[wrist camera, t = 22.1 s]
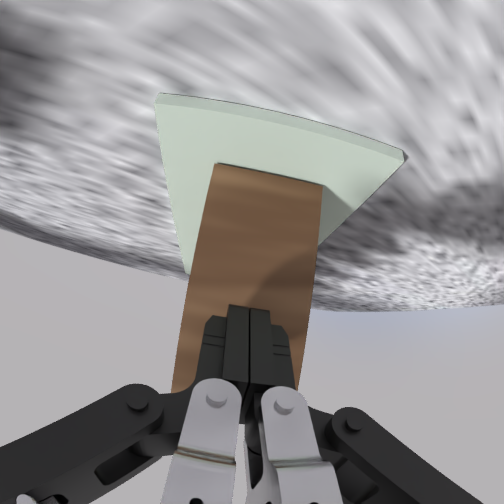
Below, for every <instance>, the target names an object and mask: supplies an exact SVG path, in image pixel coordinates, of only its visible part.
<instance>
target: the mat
mask: <svg viewBox="0 0 504 504" xmlns="http://www.w3.org/2000/svg"><path fill="white" fill-rule="evenodd" d="M154 108H155V115H156V122H157V129H158V136H159V142H160V148H161V154H162V160H163V166H164V172H165V177H166V183H167V188H168V194H169V199H170V204H171V209H172V214H173V219H174V224H175V229H176V233H177V238H178V243H179V247H180V252H181V256H182V260H183V265H184V269H185V273H186V274H188V275H190V273H191V267H192V262H193V257H194V252H195V247H196V242H197V238H198V233H199V228H200V223H201V219H202V214H203V210H204V205H205V201H206V196H207V192H208V188H209V184H210V179H211V175H212V171H213V167H214V163H215V164H221V165H226V166H232V167H237V168H242V169H247V170H252V171H257V172H262V173H267V174H271V175H276V176H281V177H285V178H290V179H294V180H298V181H303V182H307V183H311V184H315V185H319V186H323V191H322V204H321V216H320V227H319V238H318V246H319V245H320V244H321V243H322V242H323V241H324V240H325V239H326V238H327V237H328V236H329V235H330V234H331V233H332V232H334V231H335V230H336V229H337V228H338V227H339V226H340V225H341V224H342V223H343V222H344V221H345V220H346V219H347V218H348V217H349V216H350V215H351V214H352V213H353V212H354V211H355V210H356V209H357V208H358V207H359V206H360V205H361V204H362V203H364V202H365V201H366V200H367V199H368V198H369V197H370V196H371V195H372V194H373V193H374V192H375V191H376V190H377V189H378V188H379V187H380V186H381V185H382V184H383V183H384V182H385V181H386V180H387V179H388V178H389V177H390V176H391V175H392V174H393V173H394V172H395V171H396V170H397V169H398V168H399V167H400V165H401V164H402V163H403V162H404V157H403V151H402V150H400V149H397V148H395V147H392V146H389V145H387V144H384V143H381V142H378V141H376V140H373V139H370V138H367V137H364V136H361V135H358V134H355V133H352V132H349V131H346V130H342V129H339V128H336V127H332V126H329V125H326V124H322V123H318V122H315V121H311V120H307V119H304V118H300V117H296V116H292V115H288V114H283V113H279V112H275V111H270V110H266V109H261V108H256V107H251V106H246V105H241V104H235V103H230V102H224V101H218V100H211V99H205V98H197V97H190V96H182V95H173V94H163V93H159V94H158V96H157V98H156V100H155V102H154Z"/></svg>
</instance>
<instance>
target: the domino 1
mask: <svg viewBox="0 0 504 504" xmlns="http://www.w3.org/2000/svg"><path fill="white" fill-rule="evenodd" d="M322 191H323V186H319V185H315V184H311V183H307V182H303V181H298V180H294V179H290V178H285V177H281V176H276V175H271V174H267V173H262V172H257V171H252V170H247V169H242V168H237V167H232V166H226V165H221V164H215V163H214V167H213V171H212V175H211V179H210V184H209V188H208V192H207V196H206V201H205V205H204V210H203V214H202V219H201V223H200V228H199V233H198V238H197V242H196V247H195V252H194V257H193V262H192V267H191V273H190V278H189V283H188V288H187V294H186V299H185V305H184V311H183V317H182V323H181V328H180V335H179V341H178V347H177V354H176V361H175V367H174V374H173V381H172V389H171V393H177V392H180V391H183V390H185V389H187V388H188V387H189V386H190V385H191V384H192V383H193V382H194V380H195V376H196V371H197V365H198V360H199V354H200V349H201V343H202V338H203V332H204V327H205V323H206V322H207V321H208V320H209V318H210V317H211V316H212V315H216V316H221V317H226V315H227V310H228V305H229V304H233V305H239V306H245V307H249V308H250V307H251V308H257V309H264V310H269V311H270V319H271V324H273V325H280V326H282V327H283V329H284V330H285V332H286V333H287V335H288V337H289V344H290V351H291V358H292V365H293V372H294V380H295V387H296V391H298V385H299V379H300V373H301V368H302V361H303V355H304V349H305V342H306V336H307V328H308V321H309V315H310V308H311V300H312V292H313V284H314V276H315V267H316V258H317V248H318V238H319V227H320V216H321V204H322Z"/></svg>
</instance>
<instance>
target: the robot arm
mask: <svg viewBox="0 0 504 504" xmlns="http://www.w3.org/2000/svg"><path fill="white" fill-rule="evenodd" d="M239 424H245V440H244V455H245V468H246V480H247V497H246V504H483V503H482V502H481V501H479V500H478V499H476V498H475V497H473V496H472V495H471V494H469V493H468V492H466V491H465V490H464V489H462V488H461V487H460V486H458V485H457V484H455V483H454V482H453V481H451V480H450V479H449V478H447V477H445V476H444V475H443V474H442V473H441V472H439V471H438V470H436V469H435V468H434V467H433V466H431V465H430V464H429V463H427V462H426V461H425V460H423V459H422V458H421V457H420V456H418V455H417V454H416V453H414V452H413V451H412V450H411V449H409V448H408V447H407V446H405V445H404V444H403V443H402V442H400V441H399V440H398V439H397V438H395V437H394V436H393V435H392V434H390V433H389V432H388V431H387V430H385V429H384V428H383V427H382V426H380V425H379V424H378V423H377V422H376V421H375V420H373V419H372V418H371V417H369V416H368V415H367V414H366V413H365V412H363V411H362V410H360V409H357V408H353V407H345V408H341V409H339V410H338V411H337V412H335V414H334V415H332V414H329V413H325V412H322V411H319V410H316V409H313V408H311V407H309V406H308V405H307V402H306V400H305V398H304V397H303V396H302V395H301V394H300V393H299V392H298V391H296V387H295V380H294V372H293V365H292V358H291V351H290V344H289V337H288V335H287V333H286V332H285V330H284V329H283V327H282V326H280V325H273V324H271V319H270V311H269V310H264V309H257V308H251V307H250V308H249V307H245V306H239V305H233V304H229V305H228V310H227V315H226V317H221V316H216V315H212V316H211V317H210V318H209V320H208V321H207V322H206V323H205V327H204V332H203V338H202V343H201V349H200V354H199V360H198V365H197V371H196V376H195V380H194V382H193V383H192V384H191V385H190V386H189V387H188V388H187V389H185V390H183V391H180V392H177V393H168V394H159V393H158V392H157V391H155V390H154V389H153V388H151V387H149V386H147V385H143V384H129V385H126V386H124V387H122V388H120V389H118V390H116V391H114V392H112V393H111V394H109V395H107V396H105V397H103V398H101V399H99V400H97V401H95V402H93V403H92V404H90V405H88V406H86V407H84V408H82V409H80V410H78V411H76V412H74V413H72V414H70V415H68V416H66V417H64V418H62V419H60V420H58V421H56V422H54V423H52V424H50V425H48V426H46V427H43V428H41V429H39V430H37V431H35V432H33V433H31V434H29V435H26V436H24V437H22V438H20V439H18V440H15V441H13V442H11V443H9V444H6V445H4V446H2V447H0V504H89V503H91V502H92V501H94V500H96V499H98V498H99V497H101V496H103V495H104V494H106V493H108V492H109V491H111V490H113V489H115V488H116V487H118V486H119V485H121V484H123V483H124V482H126V481H128V480H129V479H131V478H132V477H134V476H135V475H137V474H138V473H140V472H141V471H143V470H144V469H146V468H147V467H149V466H150V465H152V464H153V463H155V462H156V461H158V460H159V459H160V458H161V457H162V456H167V455H173V457H172V461H171V465H170V468H169V473H168V476H167V480H166V484H165V488H164V492H163V496H162V500H161V504H232V497H233V489H234V481H235V472H236V462H235V449H236V442H237V433H238V425H239Z"/></svg>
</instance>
